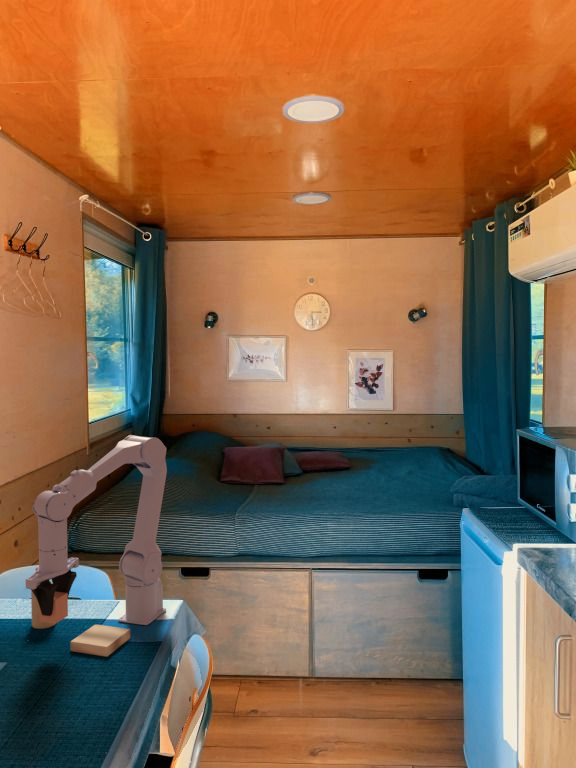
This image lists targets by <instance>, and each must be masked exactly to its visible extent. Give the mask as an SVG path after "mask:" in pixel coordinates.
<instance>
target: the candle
mask: <svg viewBox="0 0 576 768" xmlns="http://www.w3.org/2000/svg"><path fill="white" fill-rule="evenodd" d="M49 582H51V584H53V583H52V580H49ZM30 591H31V592H30V593H31V599H30V601H31V602H30V603H31V604H30V605H31V627H32V628H33V629H38V630H41V629H48V628H52V627H53V626H55V625H56V624H55V623H49V622H42V621H40V606H39V603H38V601H37V599H36V597H35V595H34V593H33V592H32V590H31V589H30Z"/></svg>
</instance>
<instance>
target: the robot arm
mask: <svg viewBox="0 0 576 768" xmlns="http://www.w3.org/2000/svg"><path fill="white" fill-rule="evenodd" d="M166 456H167V447H166V446H165V445H164V443H163V442H162V440H161V439H159V438H158V437H148V436H138V435H135V434H134V435H133V434H129V435H128V436H126V437H125V438H123V439H122V440H120V441H118V442H117V443H116V445H115V447H114V448H113V449H111V450H110V451H109V452H108V453H106V455H104V456H103V457H102V458H100V459H99V460H98V461H97V462H96V463H94V464H93V465H92V466H90V468H88V469H78V470H75V469H74V470H73V471H71V472H70V476H68V477H67V478H66V479H64V480H63V481H61V482H60V483H58V484H55V485H53V486H52V489H51V490H45V491H42V492H41V493H39V494H38V495H37V496H36V499H35V500H34V504H33V505H31V509H32V512H33V514H34V515H36V517H37V526H38V527H37V528H38V529H37V530H38V533H37V534H38V535H37V537H38V566H36V567H35V571H34V573H33V574H32V575H30V576H29V577H27V578H26V579H25V590H26V589H27V590H30V591H31V590H32V592H33V593H34V595H35V597H36V599H37V601H38V603H39V606H40V610H41V613H42V615H45V616H51V615H52V612H53V600H54V594H55V592H63V593H68V597H69V594H70V592H71V589H72V586H73V584H74V582H75V580H76V578H77V577H78V576H77V575H78V574H77V572H76V571H73V570H72V569H77V568H79V567H80V559H79V557H73V556H72V557H69V558H68V518H69V517H70V515H71V513H72V511H73V508H74V507H75V506H76V505H77V504H79V503H80V502H81V501H82V500H84V499H85V498H86V497H88V496H89V495H90V494H91V493H93V492H94V491H95V490H96V488H97V483H98V482H99V481H100V480H102V479H104V478H105V477H107V476H108V475H110V474H111V473H112V472H114V471H115V470H117V469H118V468H121V466H123V465H125V464H132V465H134V466H135V467H136V468H137V469H138V471H139V472H140V473H141V474H142V482H141V487H140V494H139V501H138V505H137V511H136V512H137V513H136V517H135V523H134V530H133V534H132V535H133V537H132V540H130V541H129V542H128V543H127V544H126V545H125V547H124V551H123V554H122V556H121V557H120V559H119V563H118V570H119V572H120V573H121V575H122V576H123V577H124V578H123V580H124V582H125V585H124V586H125V614H124V615H123V614H122V616H121V617H119V618H118V619H117V621H118V622H120V623H128V624H135V625H141V626H143V625H144V626H148V625H149V624H151V623H152V622H154V620H156V619H157V618H158V617H160V616H161V615H162V614H163V613H164V612H166V611H167V608H166V607H164V601H163V600H164V596H163V595H164V593H163V592H164V591H163V590H164V589H163V588H164V585H163V582H162V581H161V580H162V579H160V577H161V575H162V572H163V563H162V554H163V553H162V550H161V549H160V547H159V545H158V543H157V535H158V528H159V522H160V516H161V510H162V504H163V498H164V491H165V485H166V479H167V474H168V469H167V468H168V467H167V461H166ZM49 581H51V582H52V583H53V584H51V582H49Z"/></svg>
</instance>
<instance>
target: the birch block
mask: <svg viewBox="0 0 576 768" xmlns="http://www.w3.org/2000/svg"><path fill="white" fill-rule="evenodd" d="M130 639H131V629H130V628H124V627H117V626H110V625H103V624H94V625H92V626H90V628H88V629H87V630H85V631H84V632H82V633H81V634H79V635H77V637H75V638H74V639H72V640H70V652H76V653H83V654H87V655H95V656H101V657H109V656H110V655H111V654H113V653H114V652H115V651H116V650H117V649H119V648H120V647H121V646H122V645H123V644H125V643H126V642H127V641H128V640H130Z"/></svg>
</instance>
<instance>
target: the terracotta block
mask: <svg viewBox="0 0 576 768" xmlns="http://www.w3.org/2000/svg"><path fill="white" fill-rule="evenodd" d="M68 599H69V596H68V593H63V592H55V594H54V600H53V612H52V615H51V616H45V615H42V613H41V610H40V621H42V622H49V623H55V625H56V624H57V623H59V622H60V621H62V620H64V619H65V618H67V617H68V616H69V608H68V607H69V602H68V601H69V600H68Z"/></svg>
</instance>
